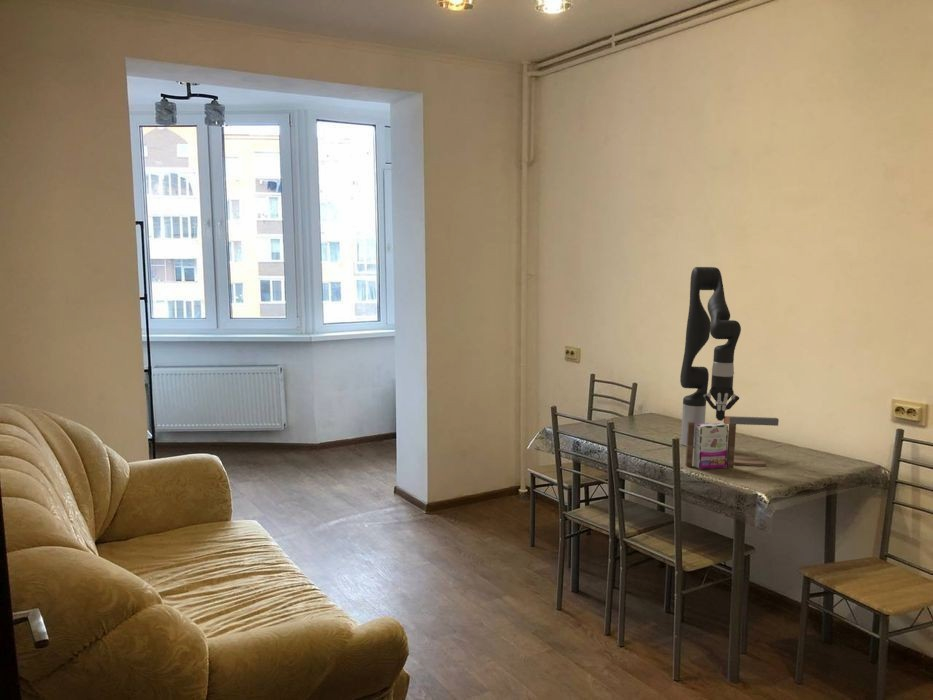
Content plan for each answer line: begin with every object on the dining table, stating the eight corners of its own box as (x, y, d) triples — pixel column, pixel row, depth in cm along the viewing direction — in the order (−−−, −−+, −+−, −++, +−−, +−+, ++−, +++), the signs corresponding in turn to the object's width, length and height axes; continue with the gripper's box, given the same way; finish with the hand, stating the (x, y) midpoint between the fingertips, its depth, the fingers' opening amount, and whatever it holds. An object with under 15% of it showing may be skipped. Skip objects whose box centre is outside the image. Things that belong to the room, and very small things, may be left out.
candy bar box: (719, 464, 270) (721, 422, 268) (726, 468, 265) (729, 425, 263) (692, 465, 268) (694, 423, 266) (699, 469, 263) (701, 426, 261)
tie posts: (685, 465, 268) (687, 421, 266) (731, 467, 267) (734, 423, 265) (686, 466, 266) (688, 422, 264) (733, 468, 265) (736, 424, 263)
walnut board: (715, 456, 282) (715, 453, 281) (756, 458, 280) (756, 455, 280) (722, 464, 270) (723, 462, 270) (766, 466, 268) (766, 463, 268)
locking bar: (723, 422, 265) (723, 415, 265) (776, 424, 263) (776, 417, 263) (725, 424, 263) (725, 417, 263) (778, 425, 261) (778, 418, 261)
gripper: (738, 373, 265) (735, 418, 267) (701, 372, 266) (699, 417, 268) (744, 376, 258) (741, 423, 260) (706, 375, 259) (703, 421, 261)
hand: (719, 420), depth 264 cm, fingers closed
